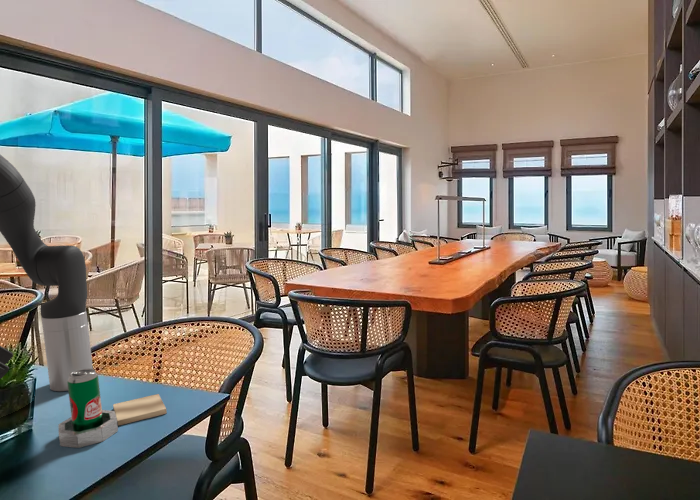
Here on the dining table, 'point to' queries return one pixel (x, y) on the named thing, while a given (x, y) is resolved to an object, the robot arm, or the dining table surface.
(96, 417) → the soda can
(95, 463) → the dining table surface
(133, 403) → the board
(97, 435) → the ring
